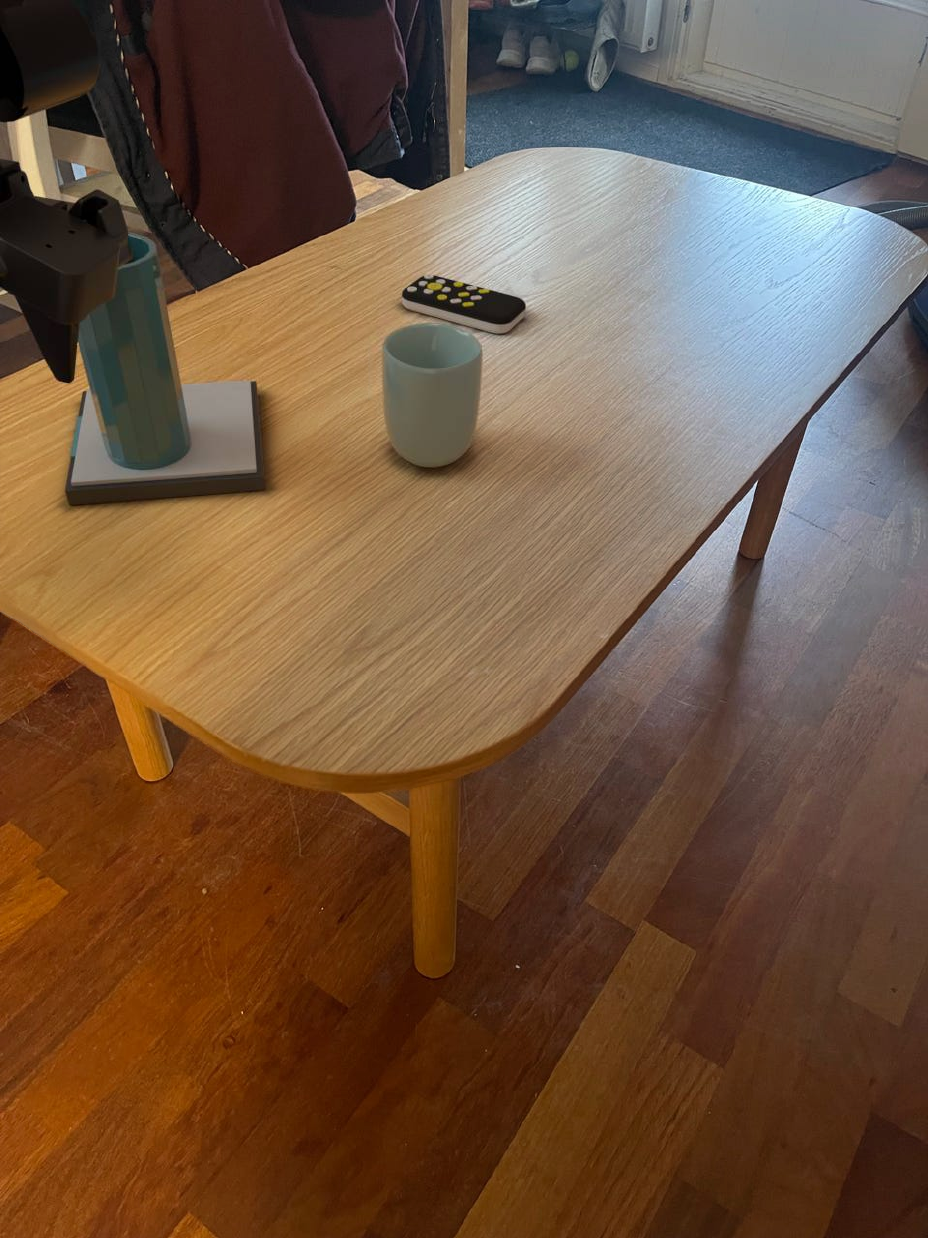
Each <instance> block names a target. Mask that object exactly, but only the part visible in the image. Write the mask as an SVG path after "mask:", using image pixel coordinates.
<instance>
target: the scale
mask: <svg viewBox="0 0 928 1238" xmlns="http://www.w3.org/2000/svg"><path fill="white" fill-rule="evenodd" d="M181 387H182V392H183V398H184V403H185V409H186V415H187V420H188V426H189V431H190V437H191V448H190V450H189V452H188V453H187V454H186V455H185V456H184V457H183V458H182V459H180V460H179V461H177V462H175V463H173V464H171V465H168V466H165V467H161V468H157V469H150V470H135V469H128V468H124V467H121V466H119V465H117V464H115V463H114V462H112V461H111V460H110V458H109V457H108V455H107V451H106V449H105V446H104V442H103V438H102V434H101V430H100V426H99V422H98V419H97V415H96V411H95V407H94V403H93V399H92V395H91V391H90V388H88V389H86V390H83V391H82V393H81V397H80V398H81V400H80V405H79V409H78V414H77V415H78V416H77V417H76V421H75V426H74V427H75V428H74V433H73V439H72V444H71V449H70V455H69V457H70V460H69V466H68V471H67V476H66V482H65V489H64V494H65V497H66V500H67V503H68V505H69V506H77V505H91V504H103V503H116V502H129V501H143V500H153V499H166V498H179V497H181V498H182V497H194V496H205V495H220V494H221V495H222V494H233V493H246V492H257V491H258V492H259V491H265V490H266V481H265V465H264V455H263V453H264V452H263V442H262V429H261V428H262V427H261V416H260V404H259V403H260V402H259V401H260V400H259V390H258V382H257V381H256V380H253V381H252V380H251V379H248V380H246V379H245V380H229V381H228V380H227V381H212V382H211V381H209V382H196V383H195V382H194V383H181Z"/></svg>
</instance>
